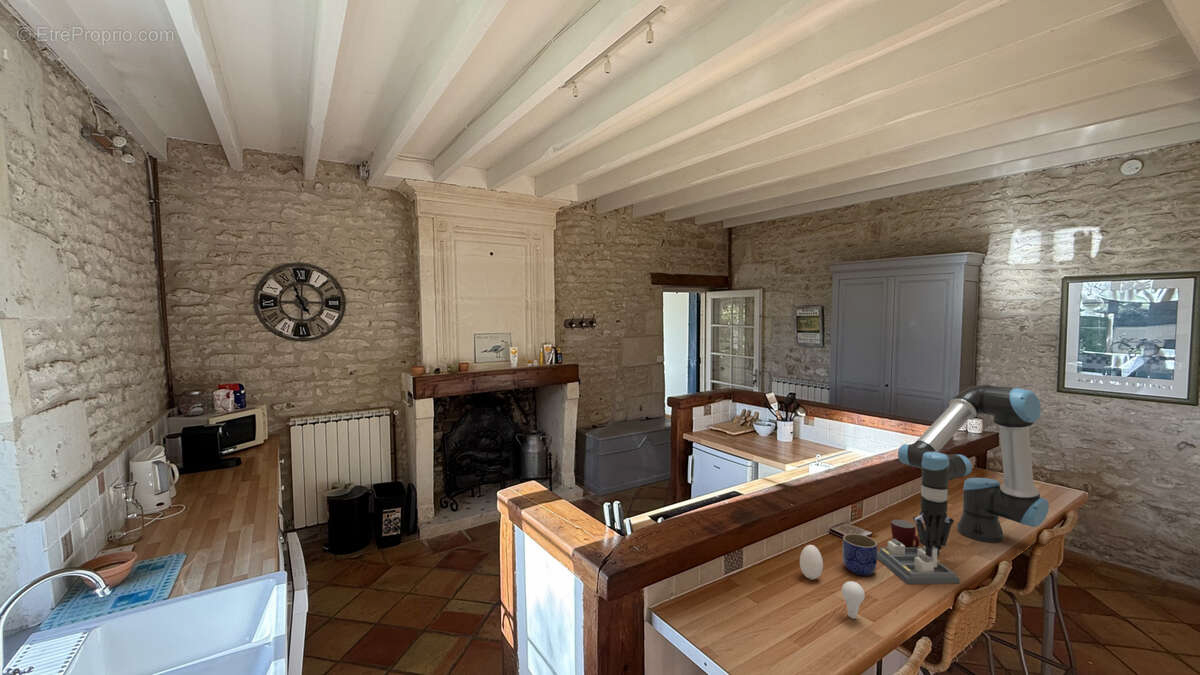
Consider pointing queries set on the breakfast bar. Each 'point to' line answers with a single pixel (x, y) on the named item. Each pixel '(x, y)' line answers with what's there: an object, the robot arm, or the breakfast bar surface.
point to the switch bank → (905, 568)
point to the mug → (904, 532)
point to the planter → (859, 553)
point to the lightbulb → (853, 597)
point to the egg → (811, 562)
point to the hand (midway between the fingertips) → (931, 565)
